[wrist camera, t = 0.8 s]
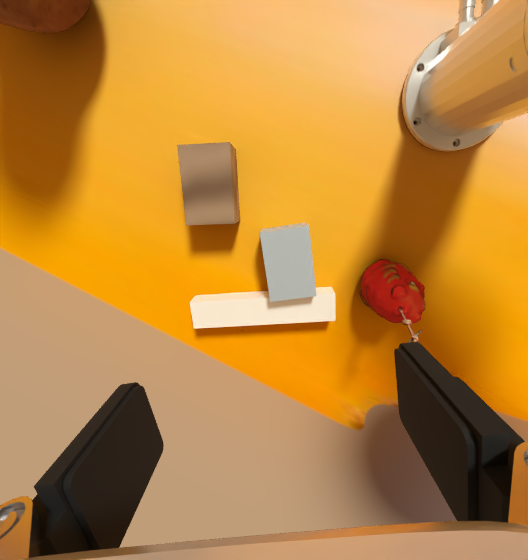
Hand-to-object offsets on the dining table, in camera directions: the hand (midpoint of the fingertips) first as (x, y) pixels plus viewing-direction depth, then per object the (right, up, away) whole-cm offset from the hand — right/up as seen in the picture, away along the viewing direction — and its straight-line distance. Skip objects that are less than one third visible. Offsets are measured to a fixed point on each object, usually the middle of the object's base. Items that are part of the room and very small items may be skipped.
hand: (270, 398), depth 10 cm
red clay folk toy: (+16, +4, +30) cm, 35 cm away
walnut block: (-7, +17, +28) cm, 33 cm away
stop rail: (0, +1, +32) cm, 32 cm away
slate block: (+3, +8, +30) cm, 31 cm away
